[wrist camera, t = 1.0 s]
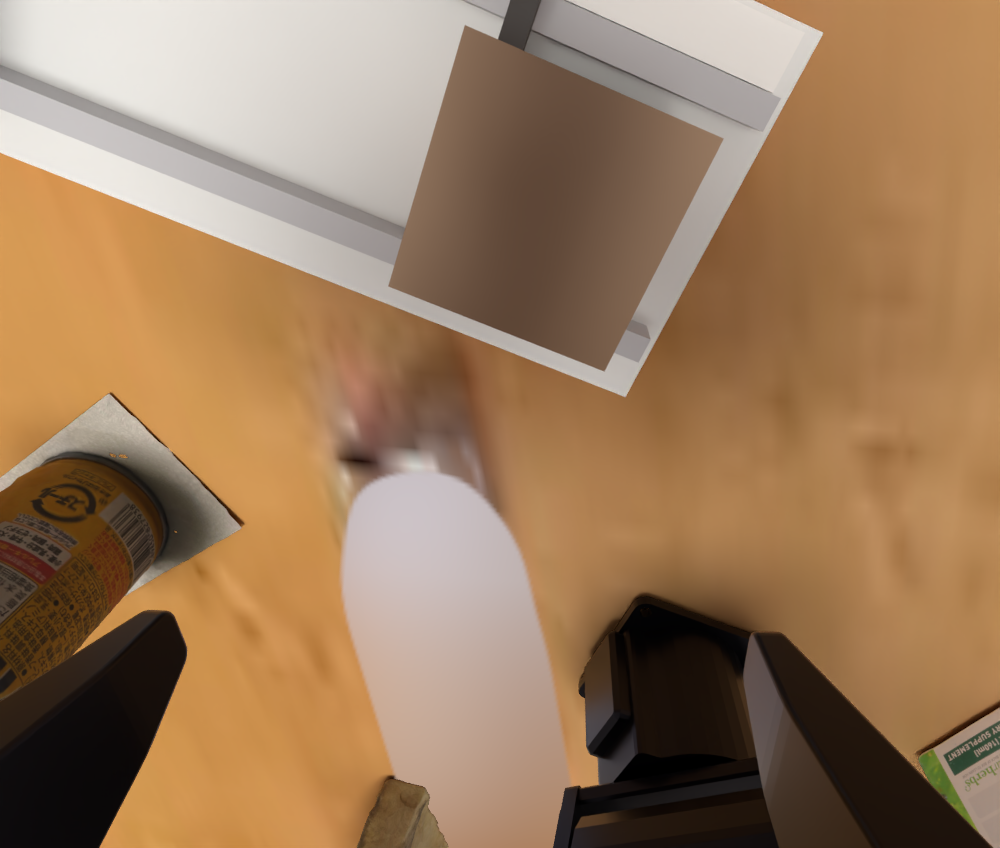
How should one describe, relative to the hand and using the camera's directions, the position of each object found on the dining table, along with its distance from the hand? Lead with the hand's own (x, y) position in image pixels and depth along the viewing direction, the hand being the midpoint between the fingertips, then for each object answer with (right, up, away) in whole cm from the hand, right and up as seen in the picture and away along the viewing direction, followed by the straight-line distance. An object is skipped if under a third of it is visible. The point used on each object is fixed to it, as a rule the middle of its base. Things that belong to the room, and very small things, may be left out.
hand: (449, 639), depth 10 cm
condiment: (-16, 0, +17) cm, 23 cm away
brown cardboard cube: (+3, +12, +7) cm, 14 cm away
